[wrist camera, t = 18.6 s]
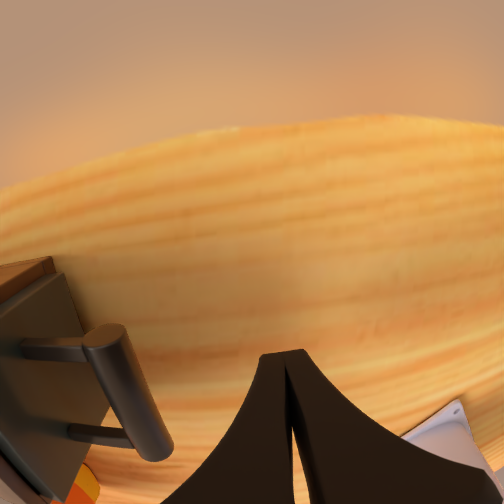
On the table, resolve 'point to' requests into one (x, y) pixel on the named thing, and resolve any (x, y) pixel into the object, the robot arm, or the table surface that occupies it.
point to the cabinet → (3, 287)
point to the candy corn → (83, 488)
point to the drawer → (68, 389)
